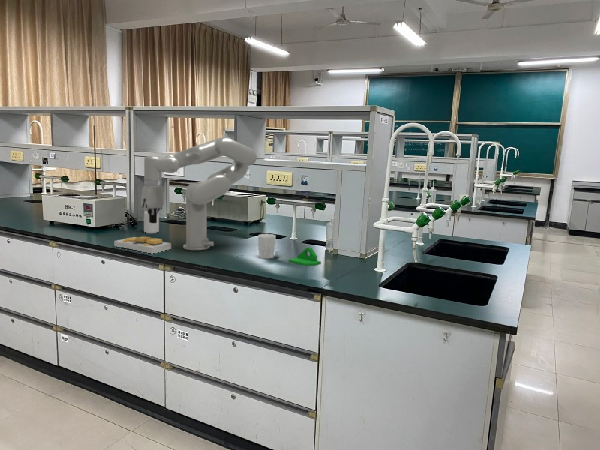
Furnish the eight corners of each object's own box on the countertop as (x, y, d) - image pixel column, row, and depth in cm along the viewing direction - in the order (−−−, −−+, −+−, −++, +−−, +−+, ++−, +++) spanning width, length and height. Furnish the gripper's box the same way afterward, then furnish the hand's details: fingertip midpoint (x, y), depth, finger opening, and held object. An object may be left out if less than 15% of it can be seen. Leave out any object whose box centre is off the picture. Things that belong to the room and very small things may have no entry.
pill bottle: (147, 234, 245) (146, 207, 243) (141, 231, 251) (141, 205, 249) (161, 232, 250) (160, 206, 248) (155, 230, 256) (155, 204, 254)
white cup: (255, 255, 208) (256, 234, 206) (272, 254, 211) (272, 233, 209) (260, 259, 201) (260, 237, 199) (277, 258, 203) (277, 237, 202)
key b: (151, 243, 214) (151, 237, 213) (143, 245, 209) (143, 239, 209) (143, 242, 216) (143, 236, 216) (135, 243, 212) (135, 238, 211)
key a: (162, 245, 211) (162, 239, 210) (154, 247, 206) (154, 241, 206) (154, 243, 213) (154, 238, 212) (146, 245, 209) (146, 239, 208)
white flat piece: (170, 249, 213) (170, 241, 212) (152, 254, 202) (152, 246, 202) (134, 242, 223) (133, 235, 223) (114, 247, 213) (114, 239, 212)
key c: (140, 244, 217) (140, 238, 217) (132, 246, 213) (132, 240, 212) (133, 242, 219) (132, 237, 219) (124, 244, 215) (124, 239, 214)
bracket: (288, 262, 198) (289, 247, 197) (299, 259, 204) (299, 245, 203) (310, 267, 191) (311, 252, 190) (320, 264, 197) (321, 249, 196)
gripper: (158, 182, 213) (158, 220, 216) (134, 183, 200) (134, 223, 203) (170, 183, 210) (170, 222, 213) (146, 184, 196) (146, 225, 199)
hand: (152, 222), depth 208 cm, fingers closed
